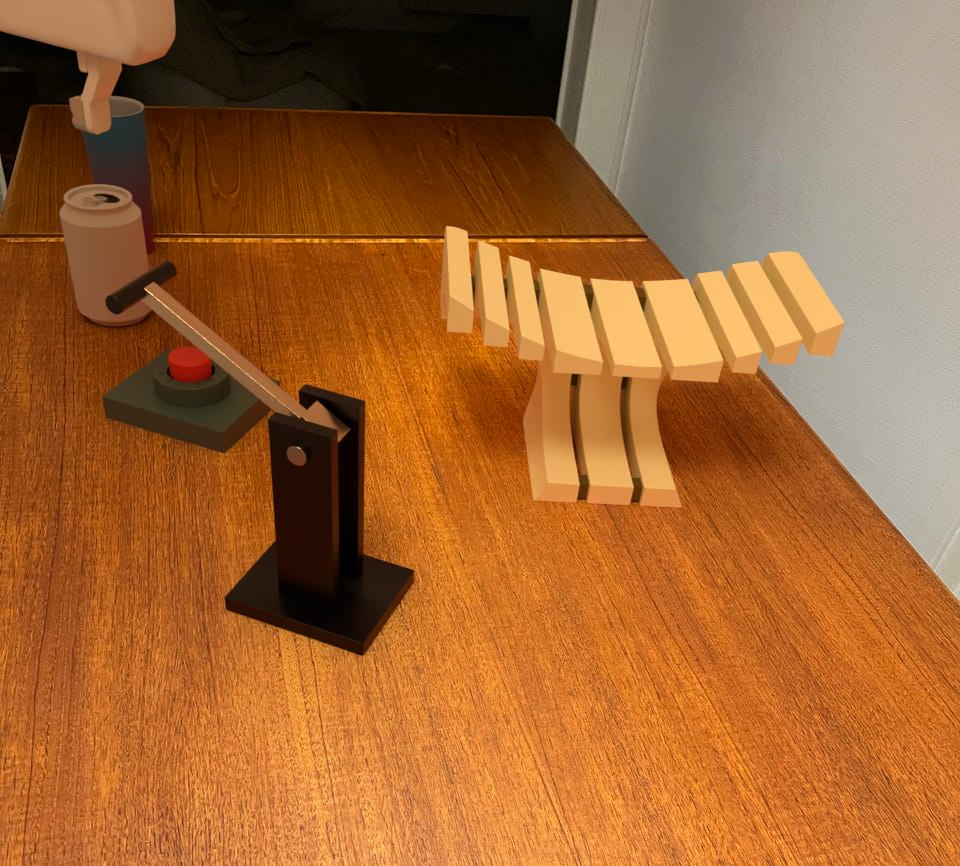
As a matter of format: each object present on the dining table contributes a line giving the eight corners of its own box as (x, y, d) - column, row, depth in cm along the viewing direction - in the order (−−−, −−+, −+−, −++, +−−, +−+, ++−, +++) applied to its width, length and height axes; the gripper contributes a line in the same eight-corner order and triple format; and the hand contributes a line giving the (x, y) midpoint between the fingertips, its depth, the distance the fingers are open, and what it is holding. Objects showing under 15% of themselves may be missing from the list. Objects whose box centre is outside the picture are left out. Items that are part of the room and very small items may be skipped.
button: (162, 377, 89) (159, 359, 87) (185, 360, 91) (182, 342, 90) (198, 388, 88) (195, 370, 87) (219, 370, 90) (218, 352, 89)
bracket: (225, 609, 73) (203, 419, 62) (285, 541, 79) (275, 358, 69) (362, 656, 71) (365, 467, 60) (413, 581, 77) (424, 399, 66)
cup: (131, 231, 119) (110, 91, 108) (175, 247, 116) (158, 106, 106) (87, 248, 114) (61, 105, 104) (132, 265, 112) (110, 121, 102)
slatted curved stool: (735, 416, 100) (789, 237, 88) (776, 512, 88) (844, 322, 76) (433, 398, 97) (445, 211, 85) (435, 495, 86) (449, 295, 73)
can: (170, 311, 105) (155, 193, 97) (117, 337, 100) (97, 215, 92) (117, 290, 107) (98, 173, 99) (62, 314, 103) (38, 194, 94)
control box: (106, 418, 90) (98, 377, 87) (169, 369, 97) (164, 330, 94) (224, 454, 87) (220, 413, 85) (280, 401, 94) (278, 362, 92)
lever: (99, 312, 62) (110, 284, 60) (156, 276, 66) (168, 249, 64) (305, 481, 64) (321, 459, 63) (347, 437, 69) (363, 415, 67)
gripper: (-233, -210, 52) (-151, 83, 62) (105, -135, 48) (137, 165, 58) (-136, -211, 56) (-73, 62, 66) (180, -143, 53) (198, 137, 62)
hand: (27, 111), depth 62 cm, fingers open, 8 cm apart
